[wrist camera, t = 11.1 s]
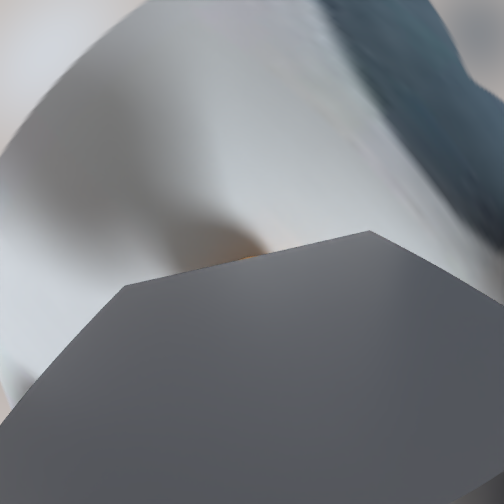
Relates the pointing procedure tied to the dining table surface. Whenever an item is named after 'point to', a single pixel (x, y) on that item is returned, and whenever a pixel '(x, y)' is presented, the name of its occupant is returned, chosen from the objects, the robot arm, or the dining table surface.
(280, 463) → the grey cube
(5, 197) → the dining table surface
